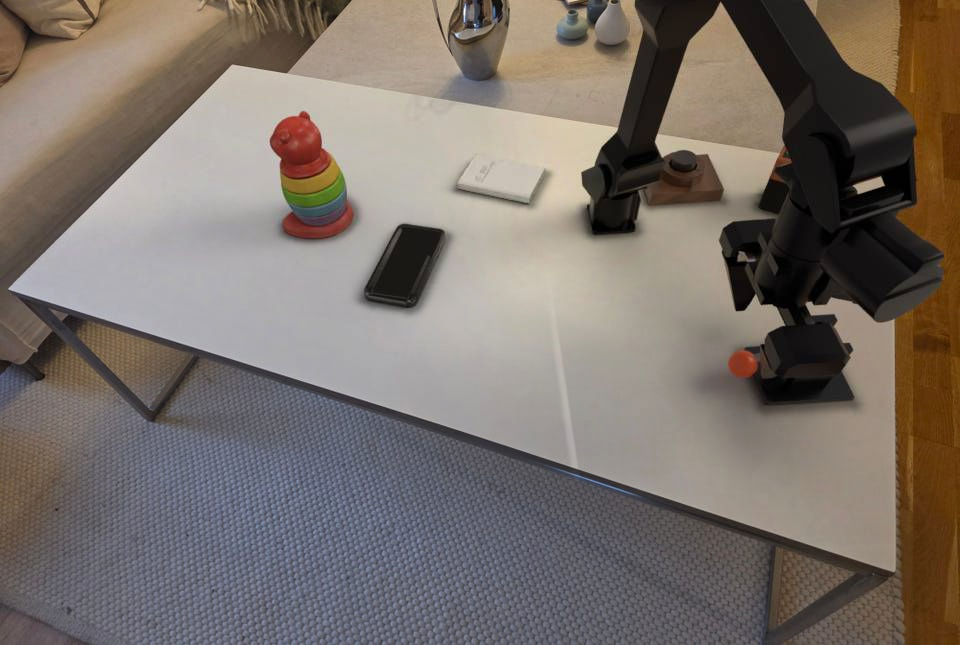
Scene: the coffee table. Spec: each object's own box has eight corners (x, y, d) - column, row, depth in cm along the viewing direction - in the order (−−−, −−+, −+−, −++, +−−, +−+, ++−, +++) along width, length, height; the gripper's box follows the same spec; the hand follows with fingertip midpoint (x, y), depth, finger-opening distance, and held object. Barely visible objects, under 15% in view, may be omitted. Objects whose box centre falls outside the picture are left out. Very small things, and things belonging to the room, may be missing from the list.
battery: (803, 222, 87) (831, 167, 79) (756, 208, 89) (778, 153, 82) (811, 205, 89) (838, 149, 81) (765, 192, 92) (787, 136, 84)
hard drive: (529, 205, 93) (457, 189, 97) (545, 174, 98) (476, 160, 101) (529, 197, 92) (457, 181, 95) (545, 166, 96) (476, 152, 100)
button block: (649, 205, 91) (653, 185, 88) (637, 169, 97) (641, 149, 94) (720, 200, 91) (727, 179, 88) (704, 165, 97) (710, 144, 93)
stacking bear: (320, 190, 99) (286, 92, 85) (369, 206, 95) (342, 107, 81) (278, 230, 93) (234, 133, 79) (328, 249, 90) (292, 151, 76)
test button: (673, 174, 90) (675, 165, 89) (668, 160, 92) (670, 150, 91) (697, 172, 90) (699, 163, 89) (691, 158, 92) (693, 148, 91)
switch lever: (735, 386, 69) (730, 373, 67) (727, 363, 71) (722, 350, 69) (837, 357, 65) (835, 342, 63) (826, 334, 67) (823, 319, 65)
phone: (361, 294, 82) (399, 222, 91) (363, 299, 83) (400, 227, 92) (414, 303, 80) (447, 229, 89) (415, 308, 81) (448, 235, 90)
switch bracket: (763, 408, 68) (790, 366, 62) (742, 352, 73) (764, 307, 67) (850, 402, 68) (887, 359, 61) (823, 347, 73) (854, 301, 66)
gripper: (952, 313, 47) (864, 411, 59) (851, 168, 58) (795, 275, 70) (810, 322, 47) (751, 418, 59) (738, 176, 59) (701, 281, 71)
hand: (752, 342), depth 65 cm, fingers open, 9 cm apart
